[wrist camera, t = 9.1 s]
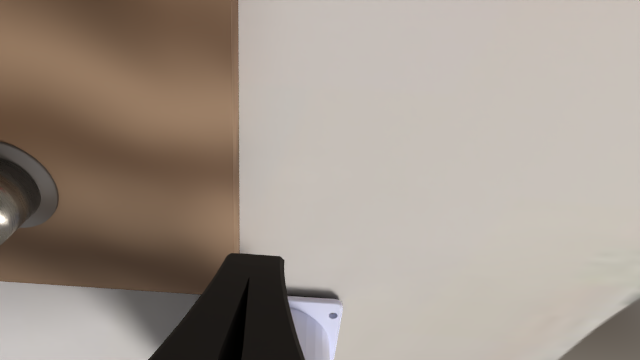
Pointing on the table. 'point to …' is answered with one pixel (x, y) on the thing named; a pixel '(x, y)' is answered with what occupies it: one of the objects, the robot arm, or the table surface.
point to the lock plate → (122, 140)
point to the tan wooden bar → (16, 198)
